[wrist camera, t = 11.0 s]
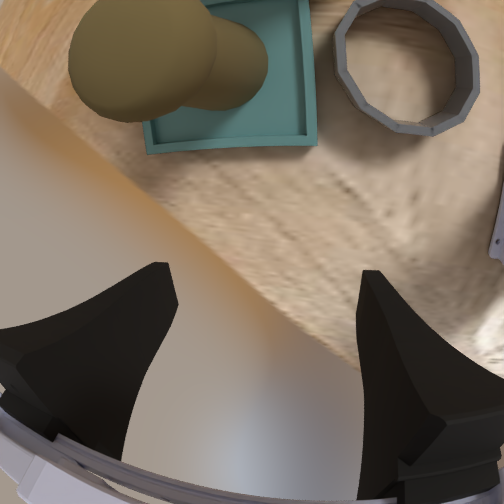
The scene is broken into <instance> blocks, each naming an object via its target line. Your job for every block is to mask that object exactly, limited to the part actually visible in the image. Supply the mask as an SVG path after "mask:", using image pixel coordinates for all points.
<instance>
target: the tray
mask: <svg viewBox="0 0 504 504" xmlns="http://www.w3.org/2000/svg"><path fill="white" fill-rule="evenodd" d="M200 1H201V2H202V4H203V5H204V6H205V7H206V8H207V9H208V11H209V12H210V14H211V15H213V16H217V17H220V18H224V19H227V20H230V21H234V22H237V23H240V24H243V25H244V26H246V27H248V28H249V29H251V30H252V31H254V32H255V33H256V34H257V35H258V37H259V38H260V39H261V41H262V42H263V43H264V45H265V48H266V52H267V55H268V73H267V76H266V78H265V81H264V83H263V86H262V87H261V89H260V90H259V91H258V92H257V93H256V95H255V96H254V97H253V98H252V99H250V100H249V101H247V102H246V103H244V104H243V105H241V106H240V107H236V108H233V109H229V110H226V111H210V110H204V109H198V108H191V107H185V106H181V107H179V108H178V109H177V110H176V111H174V112H171V113H169V114H166V115H164V116H161V117H158V118H156V119H153V120H150V121H144V122H142V124H143V131H144V138H145V145H146V152H147V155H150V154H158V153H167V152H177V151H188V150H200V149H213V148H229V147H251V146H317V111H316V88H315V70H314V55H313V42H312V30H311V19H310V9H309V0H200Z"/></svg>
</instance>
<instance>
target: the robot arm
mask: <svg viewBox="0 0 504 504" xmlns="http://www.w3.org/2000/svg"><path fill="white" fill-rule="evenodd" d="M497 239H498V241H497V242H496V240H497ZM488 254H489V256H490V257H491V258H493V259H499V260H500V261H501V263H502V264H503V265H504V183H503V189H502V195H501V200H500V205H499V210H498V215H497V219H496V224H495V228H494V232H493V236H492V240H491V243H490V247H489V250H488ZM177 308H178V300H177V297H176V292H175V288H174V285H173V280H172V276H171V272H170V268H169V264H168V263H166V262H165V263H164V262H154V263H151V264H149V265H147V266H145V267H143V268H142V269H140V270H138V271H137V272H135V273H133V274H132V275H130V276H129V277H127V278H125V279H123V280H122V281H120V282H118V283H117V284H115V285H114V286H112V287H110V288H108V289H107V290H105V291H103V292H101V293H100V294H98V295H96V296H94V297H93V298H91V299H89V300H87V301H85V302H83V303H81V304H79V305H77V306H75V307H72V308H70V309H68V310H66V311H63V312H61V313H58V314H55V315H53V316H50V317H48V318H45V319H42V320H39V321H35V322H32V323H28V324H24V325H20V326H16V327H11V328H5V329H0V383H1V384H2V385H3V387H4V388H5V389H6V390H5V391H4V393H3V394H2V393H1V392H0V468H1V469H2V470H3V471H4V472H5V473H6V474H7V475H8V476H10V477H11V478H12V479H13V480H14V481H15V482H16V483H17V484H18V487H17V493H18V496H19V497H20V498H22V499H23V500H24V501H25V502H26V503H28V504H148V503H145V502H142V501H139V500H137V499H134V498H131V497H129V496H127V495H124V494H122V493H120V492H118V491H116V490H115V489H114V488H112V487H111V486H109V485H108V484H107V483H106V482H105V481H104V480H103V479H101V478H99V477H97V476H96V475H94V474H97V475H99V476H101V477H103V478H105V479H108V480H110V481H112V482H115V483H117V484H119V485H122V486H124V487H127V488H129V489H132V490H134V491H137V492H140V493H143V494H145V495H148V496H151V497H154V498H157V499H160V500H163V501H167V502H170V503H173V504H504V467H502V468H500V469H498V466H497V461H499V460H500V459H501V456H502V455H501V451H500V447H501V446H502V445H503V443H504V379H503V378H501V377H499V376H497V375H495V374H493V373H492V372H490V371H488V370H487V369H485V368H483V367H482V366H480V365H478V364H477V363H475V362H474V361H472V360H471V359H469V358H468V357H466V356H465V355H463V354H462V353H461V352H459V351H458V350H457V349H455V348H454V347H453V346H451V345H450V344H449V343H448V342H446V341H445V340H444V339H443V338H442V337H441V336H439V335H438V334H437V333H436V332H435V331H434V330H433V329H431V328H430V327H429V326H428V325H427V324H426V323H425V322H424V321H423V320H422V319H421V318H420V317H419V316H418V315H417V314H416V313H415V312H414V310H413V309H412V308H411V307H410V306H409V305H408V304H407V303H406V302H405V300H404V299H403V298H402V297H401V296H400V295H399V293H398V292H397V291H396V290H395V289H394V287H393V286H392V285H391V284H390V283H389V281H388V280H387V279H386V278H385V276H384V275H383V274H382V273H381V272H380V271H379V270H363V272H362V279H361V286H360V293H359V299H358V305H357V311H356V336H357V345H358V352H359V359H360V366H361V373H362V380H363V389H364V436H363V451H362V463H361V472H360V480H359V487H358V494H357V500H356V501H306V500H290V499H278V498H268V497H260V496H252V495H245V494H239V493H233V492H228V491H222V490H217V489H212V488H208V487H203V486H199V485H195V484H191V483H186V482H183V481H179V480H175V479H172V478H168V477H165V476H162V475H158V474H155V473H152V472H149V471H146V470H143V469H140V468H137V467H134V466H132V465H129V464H126V463H124V462H121V458H122V452H123V447H124V441H125V437H126V433H127V429H128V425H129V421H130V417H131V414H132V410H133V407H134V404H135V401H136V398H137V395H138V392H139V390H140V387H141V384H142V381H143V379H144V376H145V374H146V372H147V370H148V367H149V366H150V364H151V362H152V360H153V358H154V356H155V355H156V353H157V351H158V349H159V347H160V345H161V343H162V341H163V340H164V338H165V336H166V334H167V332H168V330H169V328H170V326H171V324H172V321H173V319H174V316H175V313H176V311H177ZM87 470H88V471H90V472H92V473H94V474H92V473H90V472H88V471H87Z"/></svg>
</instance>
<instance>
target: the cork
mask: <svg viewBox="0 0 504 504" xmlns="http://www.w3.org/2000/svg"><path fill="white" fill-rule="evenodd" d="M68 71H69V74H70V78H71V82H72V86H73V88H74V90H75V91H76V93H77V94H78V96H79V97H80V99H81V100H82V102H84V103H85V104H86V105H87V106H88V107H89V108H91V109H92V110H93V111H94V112H96V113H97V114H98V115H100V116H102V117H105V118H109V119H112V120H116V121H120V122H126V123H129V122H144V121H150V120H153V119H156V118H158V117H161V116H164V115H166V114H169V113H171V112H174V111H176V110H177V109H178V108H179V107H181V106H185V107H191V108H198V109H204V110H210V111H226V110H229V109H233V108H236V107H240V106H241V105H243V104H244V103H246V102H247V101H249V100H250V99H252V98H253V97H254V96H255V95H256V93H257V92H258V91H259V90H260V89H261V87H262V86H263V83H264V81H265V78H266V76H267V73H268V55H267V52H266V48H265V45H264V43H263V42H262V41H261V39H260V38H259V37H258V35H257V34H256V33H255V32H254V31H252V30H251V29H249V28H248V27H246V26H244V25H243V24H240V23H237V22H234V21H230V20H227V19H224V18H220V17H217V16H213V15H211V14H210V12H209V11H208V9H207V8H206V7H205V6H204V5H203V4H202V2H201V1H200V0H98V1H97V2H96V3H95V4H94V5H93V6H92V7H91V8H90V9H89V10H88V11H87V13H86V14H85V15H84V16H83V18H82V19H81V21H80V23H79V25H78V27H77V28H76V30H75V32H74V34H73V38H72V41H71V45H70V49H69V61H68Z"/></svg>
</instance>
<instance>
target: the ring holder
mask: <svg viewBox="0 0 504 504" xmlns="http://www.w3.org/2000/svg"><path fill="white" fill-rule="evenodd" d="M381 6H382V7H389V8H396V9H402V10H408V11H413V12H414V13H416V14H417V15H419V16H420V17H421V18H423V19H424V20H426V21H427V22H428V23H430V24H431V25H433V26H434V27H435V28H437V29H438V30H439V31H440V33H441V35H442V36H443V38H444V40H445V41H446V43H447V45H448V47H449V49H450V50H451V52H452V54H453V56H454V58H455V79H456V88H455V89H454V91H453V93H452V95H451V97H450V98H449V100H448V102H447V104H446V105H445V107H444V109H443V111H441V112H439V113H437V114H435V115H433V116H431V117H428V118H426V119H424V120H422V121H420V122H418V123H416V122H407V121H398V120H392V119H391V118H389V117H388V116H386V115H385V114H383V113H382V112H380V111H379V110H377V109H376V108H374V107H373V106H371V105H370V104H368V103H367V102H366V100H365V98H364V97H363V95H362V93H361V92H360V90H359V88H358V87H357V85H356V83H355V82H354V80H353V79H352V77H351V75H350V74H349V72H348V71H347V59H346V45H345V34H346V32H347V30H348V29H349V27H350V25H351V24H352V22H353V20H354V18H355V17H358V16H360V15H362V14H364V13H367V12H369V11H372V10H374V9H376V8H379V7H381ZM332 45H333V59H334V75H335V76H336V78H337V80H338V81H339V83H340V84H341V86H342V87H343V89H344V91H345V92H346V94H347V95H348V97H349V99H350V100H351V102H352V104H353V105H354V107H355V108H357V109H359V110H360V111H362V112H363V113H365V114H367V115H368V116H370V117H371V118H373V119H374V120H376V121H377V122H379V123H380V124H382V125H383V126H385V127H386V128H388V129H390V130H392V131H394V132H396V133H406V134H416V135H424V136H432V137H434V136H436V135H438V134H440V133H442V132H444V131H446V130H448V129H450V128H452V127H454V126H456V125H458V124H460V123H462V122H464V120H465V119H466V117H467V115H468V113H469V112H470V110H471V108H472V106H473V104H474V102H475V101H476V99H477V97H478V95H479V93H480V72H479V56H478V53H477V51H476V49H475V47H474V46H473V44H472V42H471V40H470V38H469V36H468V34H467V33H466V31H465V29H464V27H463V26H462V24H461V22H460V21H459V19H457V18H456V17H455V16H454V15H452V14H451V13H450V12H448V11H447V10H446V9H444V8H443V7H442V6H440V5H439V4H438V3H436V2H435V1H434V0H355V1H353V3H352V4H351V6H350V8H349V9H348V11H347V13H346V14H345V16H344V18H343V20H342V21H341V23H340V25H339V26H338V28H337V30H336V31H335V34H334V36H333V39H332Z"/></svg>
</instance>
